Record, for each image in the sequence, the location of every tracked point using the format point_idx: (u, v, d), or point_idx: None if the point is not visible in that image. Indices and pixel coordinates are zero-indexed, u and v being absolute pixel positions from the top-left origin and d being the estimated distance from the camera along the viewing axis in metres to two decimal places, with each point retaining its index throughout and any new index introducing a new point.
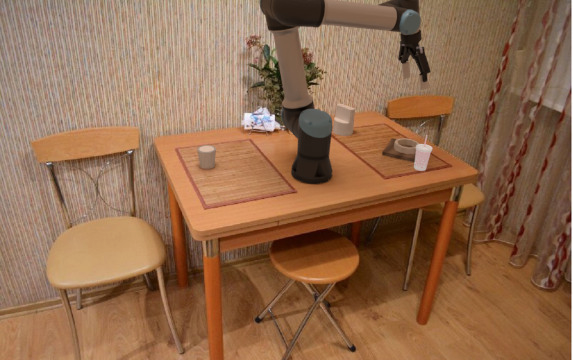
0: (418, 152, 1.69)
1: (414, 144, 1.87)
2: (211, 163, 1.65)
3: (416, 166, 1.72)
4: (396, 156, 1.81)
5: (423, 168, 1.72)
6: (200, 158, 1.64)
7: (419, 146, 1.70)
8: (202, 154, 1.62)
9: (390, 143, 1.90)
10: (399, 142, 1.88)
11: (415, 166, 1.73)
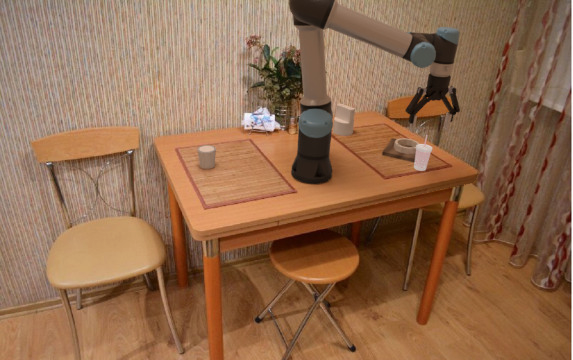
0: (418, 152, 1.69)
1: (414, 144, 1.87)
2: (211, 163, 1.65)
3: (416, 166, 1.72)
4: (396, 156, 1.81)
5: (423, 168, 1.72)
6: (200, 158, 1.64)
7: (419, 146, 1.70)
8: (202, 154, 1.62)
9: (390, 143, 1.90)
10: (399, 142, 1.88)
11: (415, 166, 1.73)
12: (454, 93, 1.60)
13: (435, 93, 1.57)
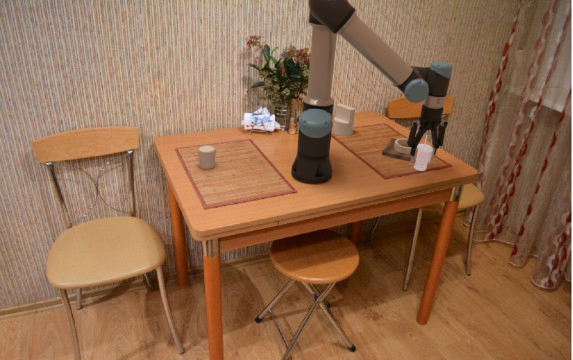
0: (418, 152, 1.69)
1: None
2: (211, 163, 1.65)
3: (416, 166, 1.72)
4: (396, 156, 1.81)
5: (423, 168, 1.72)
6: (200, 158, 1.64)
7: (419, 146, 1.70)
8: (202, 154, 1.62)
9: (390, 143, 1.90)
10: (399, 142, 1.88)
11: (415, 166, 1.73)
12: (444, 126, 1.66)
13: (428, 124, 1.63)
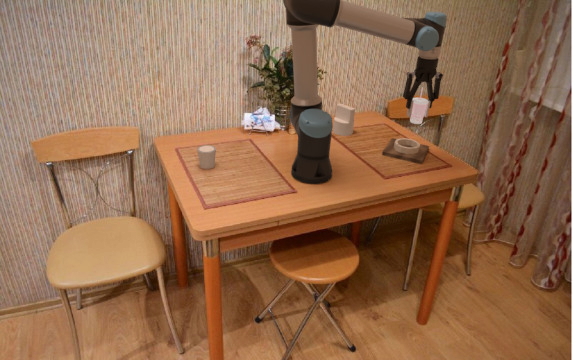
0: (414, 105, 1.72)
1: (414, 144, 1.87)
2: (211, 163, 1.65)
3: (412, 119, 1.75)
4: (396, 156, 1.81)
5: (419, 121, 1.74)
6: (200, 158, 1.64)
7: (415, 99, 1.73)
8: (202, 154, 1.62)
9: (390, 143, 1.90)
10: (399, 142, 1.88)
11: (411, 119, 1.76)
12: (440, 79, 1.68)
13: (423, 75, 1.66)
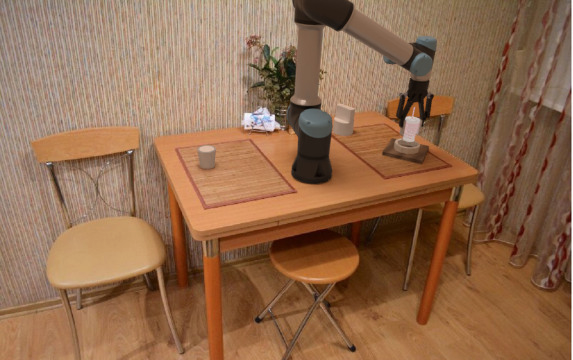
0: (406, 124, 1.79)
1: (414, 144, 1.87)
2: (211, 163, 1.65)
3: (405, 137, 1.82)
4: (396, 156, 1.81)
5: (411, 139, 1.81)
6: (200, 158, 1.64)
7: (407, 118, 1.80)
8: (202, 154, 1.62)
9: (390, 143, 1.90)
10: (399, 142, 1.88)
11: (404, 137, 1.83)
12: (431, 99, 1.75)
13: (415, 96, 1.73)
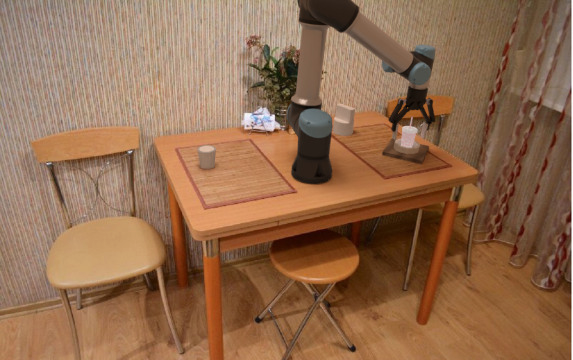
0: (404, 133, 1.81)
1: (414, 144, 1.87)
2: (211, 163, 1.65)
3: None
4: (396, 156, 1.81)
5: None
6: (200, 158, 1.64)
7: (405, 128, 1.82)
8: (202, 154, 1.62)
9: (390, 143, 1.90)
10: (399, 142, 1.88)
11: None
12: (431, 104, 1.76)
13: (414, 104, 1.74)
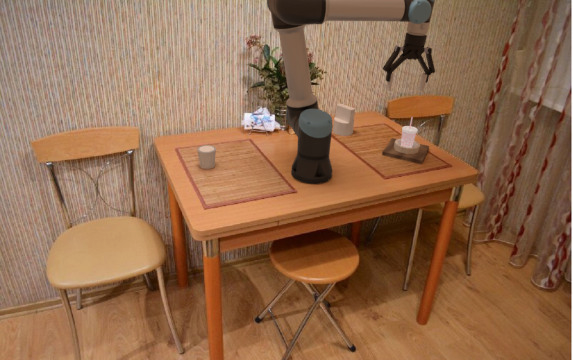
0: (404, 133, 1.81)
1: (414, 144, 1.87)
2: (211, 163, 1.65)
3: None
4: (396, 156, 1.81)
5: None
6: (200, 158, 1.64)
7: (405, 128, 1.82)
8: (202, 154, 1.62)
9: (390, 143, 1.90)
10: (399, 142, 1.88)
11: None
12: (430, 53, 1.66)
13: (411, 52, 1.64)
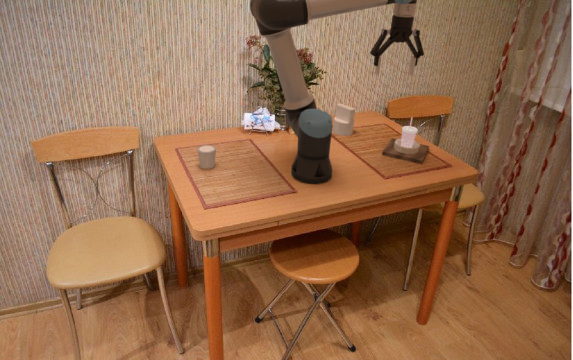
0: (404, 133, 1.81)
1: (414, 144, 1.87)
2: (211, 163, 1.65)
3: None
4: (396, 156, 1.81)
5: None
6: (200, 158, 1.64)
7: (405, 128, 1.82)
8: (202, 154, 1.62)
9: (390, 143, 1.90)
10: (399, 142, 1.88)
11: None
12: (418, 35, 1.62)
13: (398, 34, 1.60)
